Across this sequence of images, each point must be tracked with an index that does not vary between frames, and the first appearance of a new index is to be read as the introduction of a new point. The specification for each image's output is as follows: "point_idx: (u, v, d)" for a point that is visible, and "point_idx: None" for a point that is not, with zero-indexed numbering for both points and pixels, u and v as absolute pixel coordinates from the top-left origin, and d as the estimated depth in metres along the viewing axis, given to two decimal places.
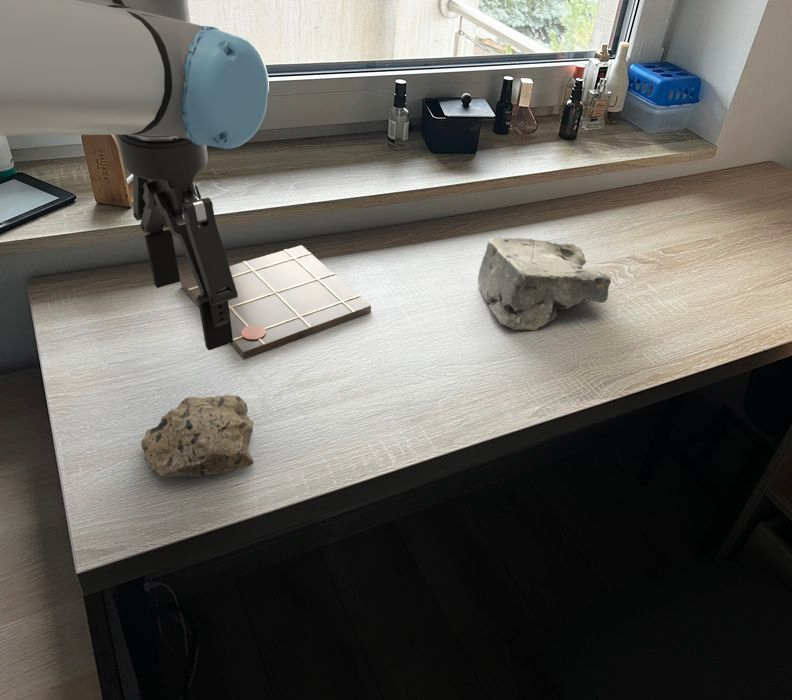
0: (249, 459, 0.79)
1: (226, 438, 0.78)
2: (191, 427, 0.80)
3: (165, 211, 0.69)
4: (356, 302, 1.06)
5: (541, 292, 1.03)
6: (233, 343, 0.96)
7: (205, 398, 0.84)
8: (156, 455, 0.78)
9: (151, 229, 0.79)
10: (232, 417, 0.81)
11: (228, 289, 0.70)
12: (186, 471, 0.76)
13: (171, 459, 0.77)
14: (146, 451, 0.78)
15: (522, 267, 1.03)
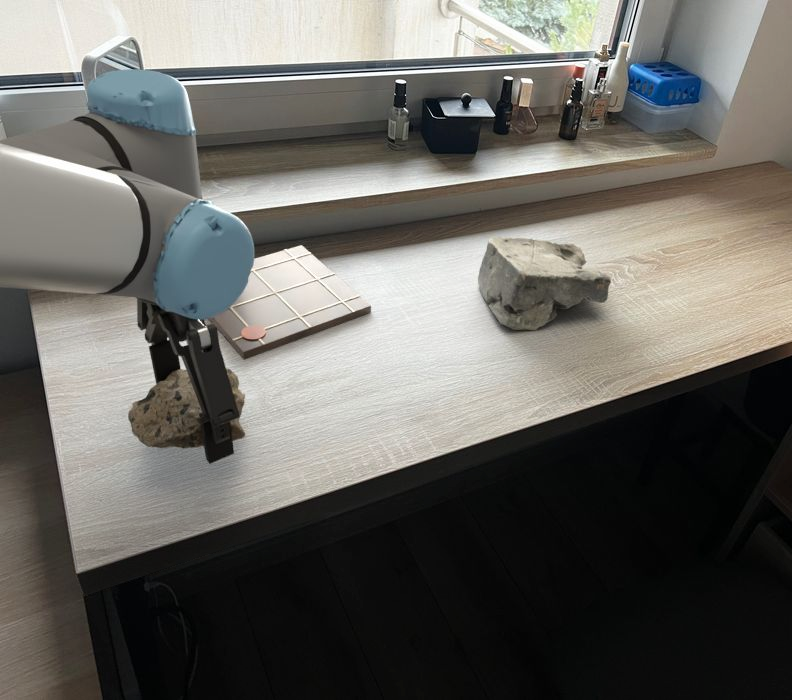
0: (241, 431, 0.76)
1: None
2: (180, 398, 0.77)
3: (168, 332, 0.68)
4: (356, 302, 1.06)
5: (541, 292, 1.03)
6: (233, 343, 0.96)
7: None
8: (143, 426, 0.75)
9: (155, 340, 0.78)
10: None
11: (230, 410, 0.69)
12: (175, 442, 0.73)
13: (159, 430, 0.74)
14: (133, 422, 0.75)
15: (522, 267, 1.03)
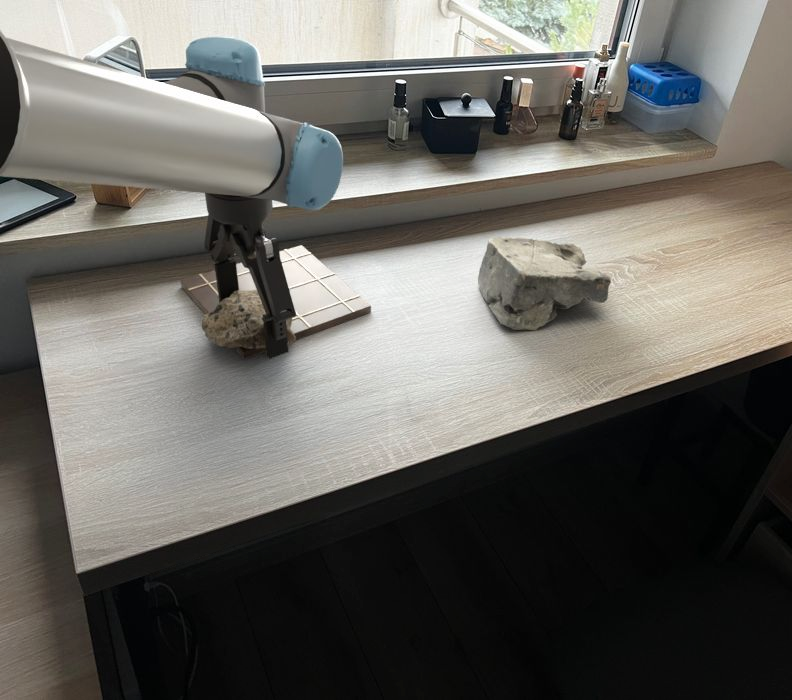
0: (292, 335, 0.94)
1: None
2: (243, 309, 0.95)
3: (239, 248, 0.86)
4: (356, 302, 1.06)
5: (541, 292, 1.03)
6: None
7: (252, 290, 1.00)
8: (215, 331, 0.93)
9: (219, 259, 0.96)
10: None
11: (289, 310, 0.87)
12: (241, 342, 0.92)
13: (228, 333, 0.93)
14: (206, 328, 0.93)
15: (522, 267, 1.03)
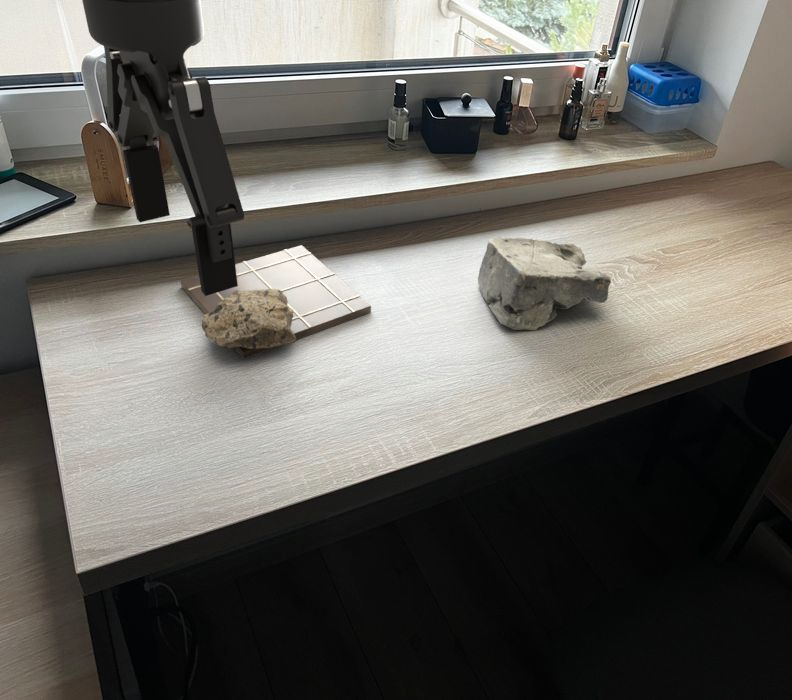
0: (292, 335, 0.94)
1: (273, 317, 0.94)
2: (243, 309, 0.95)
3: (146, 100, 0.51)
4: (356, 302, 1.06)
5: (541, 292, 1.03)
6: None
7: (252, 290, 1.00)
8: (215, 331, 0.93)
9: (131, 142, 0.61)
10: (277, 303, 0.96)
11: (231, 207, 0.51)
12: (241, 342, 0.92)
13: (228, 333, 0.93)
14: (206, 328, 0.93)
15: (522, 267, 1.03)
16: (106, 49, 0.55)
